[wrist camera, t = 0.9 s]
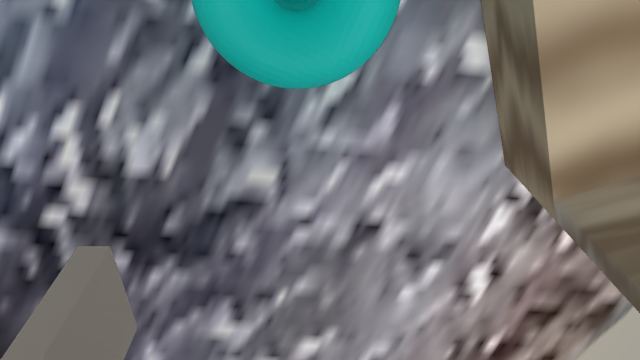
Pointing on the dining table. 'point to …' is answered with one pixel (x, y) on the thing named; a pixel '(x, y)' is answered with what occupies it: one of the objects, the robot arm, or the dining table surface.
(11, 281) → the dining table surface
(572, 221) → the display stand
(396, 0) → the donuts
